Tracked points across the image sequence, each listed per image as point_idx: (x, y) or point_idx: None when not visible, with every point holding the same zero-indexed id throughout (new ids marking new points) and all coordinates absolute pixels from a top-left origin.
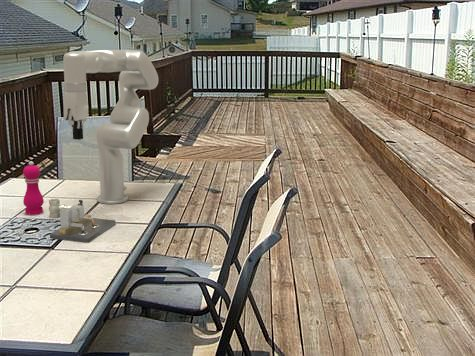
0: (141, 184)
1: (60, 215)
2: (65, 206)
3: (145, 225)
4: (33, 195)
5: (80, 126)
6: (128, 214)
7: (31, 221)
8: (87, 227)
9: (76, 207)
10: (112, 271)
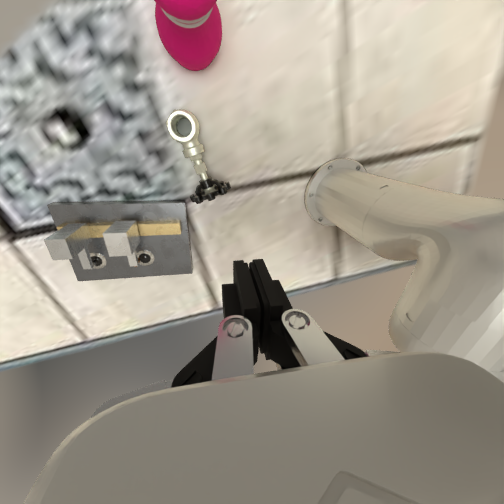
0: None
1: (51, 235)
2: (194, 157)
3: (207, 307)
4: (167, 33)
5: (278, 359)
6: None
7: (123, 82)
8: None
9: (110, 248)
10: (9, 354)
